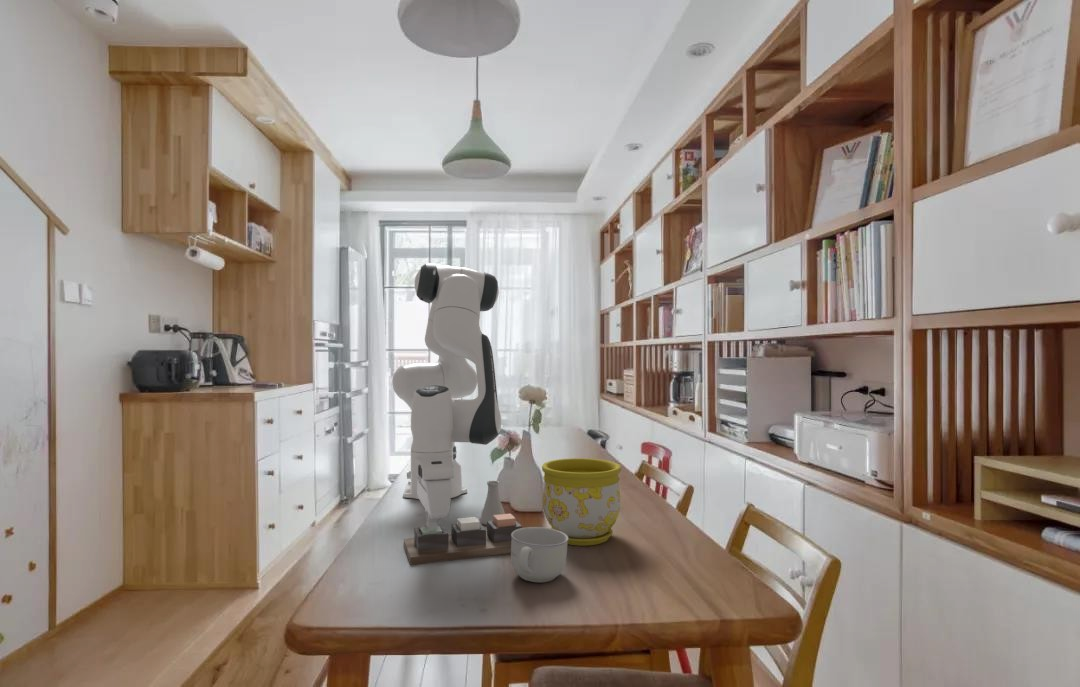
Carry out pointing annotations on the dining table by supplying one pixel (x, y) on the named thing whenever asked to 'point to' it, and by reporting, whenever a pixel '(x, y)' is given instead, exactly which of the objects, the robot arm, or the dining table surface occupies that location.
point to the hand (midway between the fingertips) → (431, 529)
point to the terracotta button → (504, 520)
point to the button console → (459, 543)
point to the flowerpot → (582, 498)
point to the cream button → (468, 524)
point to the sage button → (426, 531)
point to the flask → (491, 503)
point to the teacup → (538, 553)
